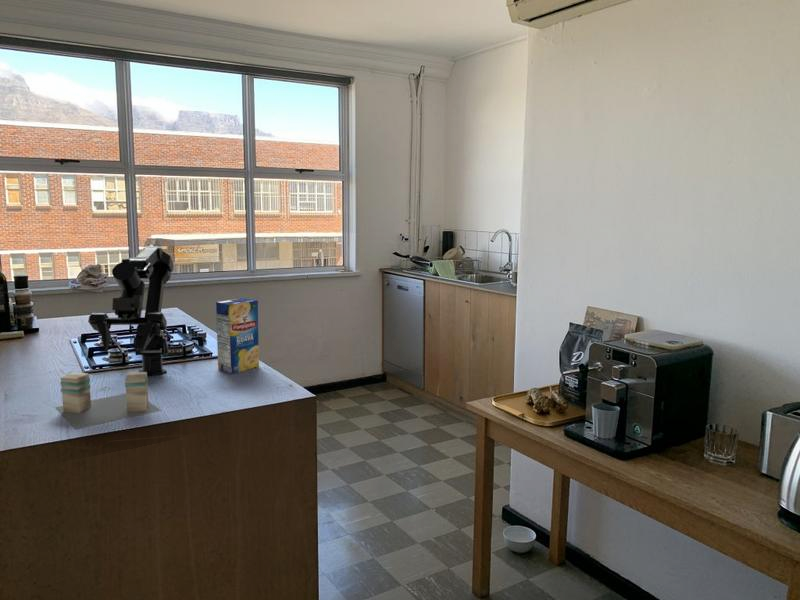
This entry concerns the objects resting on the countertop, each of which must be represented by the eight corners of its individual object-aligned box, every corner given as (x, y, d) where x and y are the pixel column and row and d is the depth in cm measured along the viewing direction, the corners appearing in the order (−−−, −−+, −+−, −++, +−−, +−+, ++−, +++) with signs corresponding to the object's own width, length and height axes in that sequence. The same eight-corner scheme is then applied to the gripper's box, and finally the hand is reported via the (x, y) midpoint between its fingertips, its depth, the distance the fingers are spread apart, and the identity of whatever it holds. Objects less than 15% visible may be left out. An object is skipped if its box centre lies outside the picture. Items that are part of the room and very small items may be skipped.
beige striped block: (75, 405, 158) (73, 372, 156) (91, 406, 157) (89, 373, 155) (62, 411, 153) (60, 377, 152) (79, 413, 152) (76, 378, 151)
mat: (55, 408, 156) (54, 407, 156) (134, 392, 169) (134, 391, 169) (76, 430, 142) (75, 429, 142) (160, 411, 156) (160, 410, 156)
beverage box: (217, 369, 193) (215, 302, 189) (246, 362, 201) (244, 297, 198) (231, 374, 189) (229, 304, 185) (259, 366, 197) (258, 300, 193)
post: (129, 406, 158) (127, 373, 157) (148, 404, 159) (147, 371, 158) (126, 412, 154) (124, 378, 152) (146, 410, 155) (144, 377, 153)
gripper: (86, 284, 159) (76, 338, 151) (161, 284, 161) (154, 337, 154) (99, 304, 168) (90, 355, 161) (169, 303, 171) (163, 354, 164)
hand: (124, 350), depth 160 cm, fingers open, 9 cm apart
